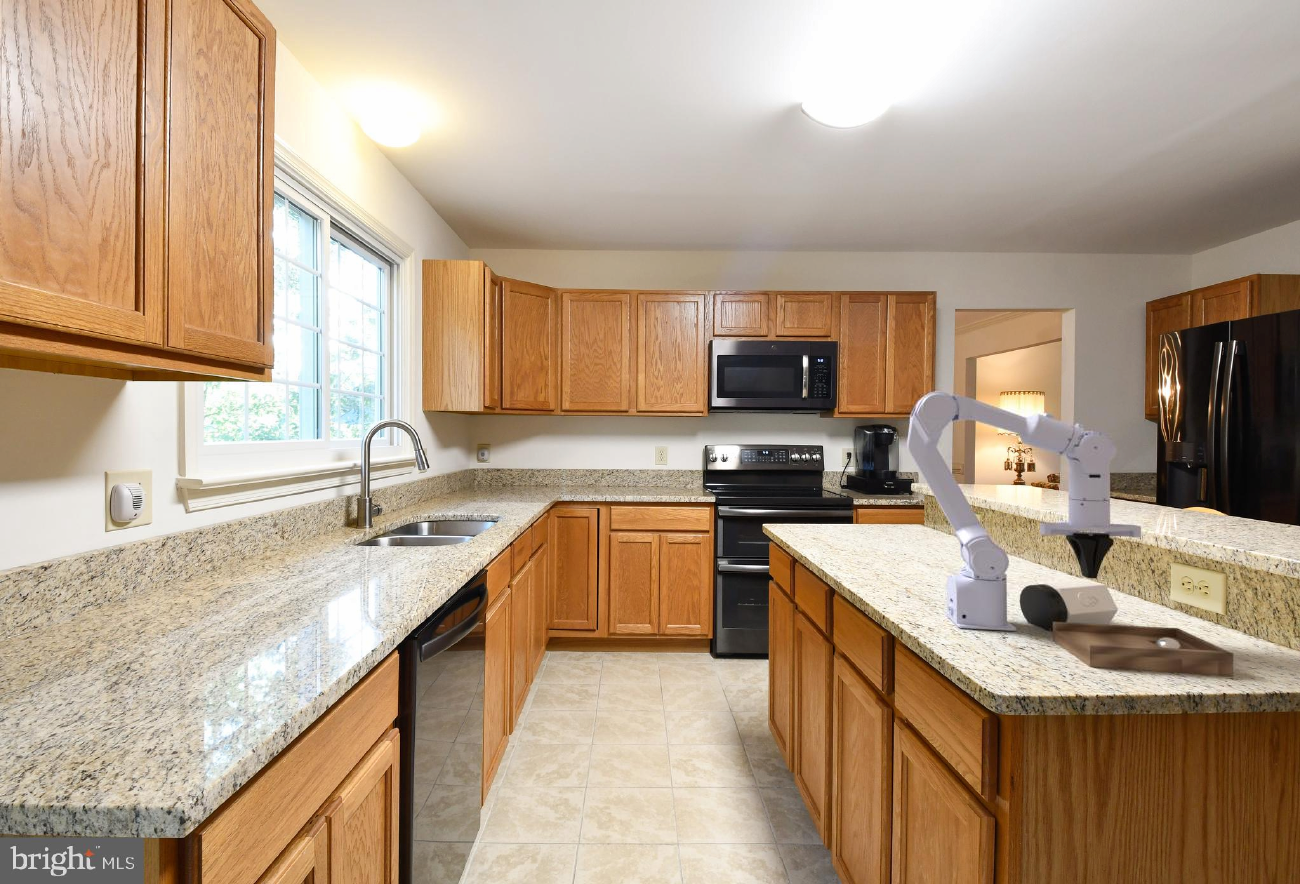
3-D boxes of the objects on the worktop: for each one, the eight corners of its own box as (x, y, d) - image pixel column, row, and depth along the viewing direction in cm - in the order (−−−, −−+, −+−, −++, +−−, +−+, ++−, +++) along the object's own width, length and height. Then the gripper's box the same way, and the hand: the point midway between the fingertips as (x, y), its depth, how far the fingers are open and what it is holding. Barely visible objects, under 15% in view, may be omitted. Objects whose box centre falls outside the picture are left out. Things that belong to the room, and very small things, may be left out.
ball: (1168, 664, 85) (1161, 643, 85) (1153, 657, 88) (1146, 637, 88) (1191, 660, 84) (1184, 639, 84) (1176, 653, 87) (1169, 633, 87)
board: (1090, 666, 83) (1089, 645, 83) (1052, 640, 94) (1052, 621, 94) (1233, 676, 80) (1233, 653, 80) (1177, 647, 90) (1177, 628, 90)
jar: (1126, 622, 97) (1063, 628, 96) (1091, 631, 104) (1032, 637, 103) (1101, 571, 101) (1040, 577, 100) (1068, 584, 108) (1011, 589, 107)
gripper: (1053, 501, 95) (1053, 580, 95) (1152, 502, 92) (1153, 584, 92) (1034, 497, 102) (1034, 571, 102) (1126, 498, 99) (1126, 574, 99)
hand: (1089, 577), depth 97 cm, fingers closed
